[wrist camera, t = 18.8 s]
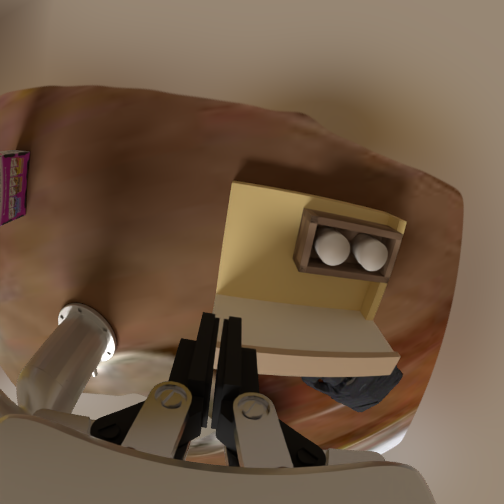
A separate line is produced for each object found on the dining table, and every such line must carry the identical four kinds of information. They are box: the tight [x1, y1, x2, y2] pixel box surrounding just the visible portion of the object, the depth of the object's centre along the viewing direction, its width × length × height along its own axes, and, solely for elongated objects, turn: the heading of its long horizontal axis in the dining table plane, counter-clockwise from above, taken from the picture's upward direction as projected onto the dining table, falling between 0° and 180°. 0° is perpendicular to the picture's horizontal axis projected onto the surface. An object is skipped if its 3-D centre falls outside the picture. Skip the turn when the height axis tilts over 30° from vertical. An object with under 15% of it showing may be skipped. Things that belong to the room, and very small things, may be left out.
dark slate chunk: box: [301, 365, 402, 412], centre depth 44 cm, size 15×22×5 cm
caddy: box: [293, 208, 403, 283], centre depth 31 cm, size 6×12×5 cm, turn 81°
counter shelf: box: [212, 180, 407, 377], centre depth 31 cm, size 17×23×14 cm
